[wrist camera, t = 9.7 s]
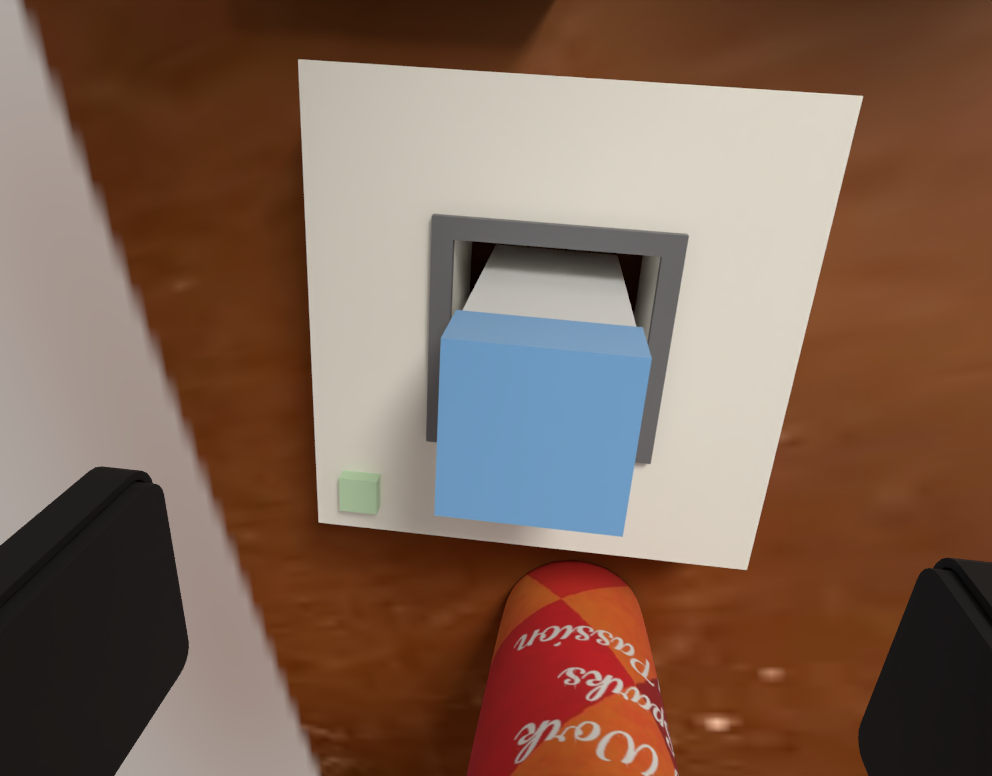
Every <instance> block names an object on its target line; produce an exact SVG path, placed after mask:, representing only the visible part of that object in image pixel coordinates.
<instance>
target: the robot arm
mask: <svg viewBox="0 0 992 776" xmlns="http://www.w3.org/2000/svg"><path fill="white" fill-rule="evenodd" d="M188 648H189V642H188V635H187V629H186V624H185V617H184V612H183V606H182V599H181V593H180V587H179V581H178V576H177V569H176V563H175V557H174V551H173V546H172V540H171V533H170V528H169V522H168V516H167V510H166V504H165V498H164V493H163V490H162V488H161V487H160V486H159V485H157V484H153V483H152V479H151V478H150V476H149V475H148V474H147V473H145V472H143V471H138V470H129V469H120V468H110V467H95V468H94V469H92V470H90V471H89V472H88V473H86V474H85V475H84V476H83V477H82V478H80V480H78V481H77V482H76V483H74V484H73V485H72V486H71V487H70V488H69V489H67V490H66V491H65V492H64V493H63V494H61V495H60V496H59V497H58V498H57V499H55V500H54V501H53V502H52V503H51V504H49V505H48V506H47V507H46V508H45V509H43V510H42V511H41V512H40V513H39V514H38V515H36V516H35V517H34V518H33V519H32V520H30V521H29V522H28V523H27V524H26V525H24V526H23V527H22V528H21V529H20V530H18V531H17V532H16V533H15V534H14V535H12V536H11V537H10V538H9V539H8V540H7V541H5V542H4V543H3V544H2V545H0V776H114V775H115V774H116V772H117V770H118V769H119V767H120V766H121V764H122V763H123V761H124V760H125V758H126V757H127V755H128V754H129V752H130V750H131V749H132V747H133V746H134V744H135V743H136V741H137V740H138V738H139V736H140V735H141V734H142V732H143V730H144V729H145V727H146V726H147V724H148V723H149V721H150V720H151V718H152V717H153V715H154V713H155V712H156V710H157V709H158V707H159V706H160V704H161V703H162V701H163V700H164V698H165V696H166V695H167V693H168V692H169V690H170V688H171V687H172V686H173V684H174V683H175V681H176V680H177V678H178V676H179V675H180V673H181V671H182V670H183V667H184V665H185V662H186V659H187V655H188ZM858 740H859V749H860V754H861V758H862V761H863V763H864V766H865V768H866V770H867V773H868V775H869V776H992V562H983V561H973V560H964V559H955V558H944V559H941V560H940V561H939V562H937V563H936V564H935V566H934V568H933V569H932V568H928V569H924V570H923V571H922V572H921V573H920V575H919V577H918V579H917V581H916V584H915V586H914V589H913V591H912V594H911V597H910V599H909V602H908V604H907V607H906V609H905V612H904V614H903V617H902V620H901V622H900V625H899V627H898V630H897V632H896V635H895V637H894V640H893V643H892V645H891V648H890V650H889V653H888V655H887V658H886V660H885V663H884V665H883V668H882V671H881V673H880V676H879V678H878V681H877V683H876V686H875V688H874V691H873V694H872V696H871V699H870V701H869V704H868V706H867V709H866V711H865V714H864V717H863V719H862V722H861V724H860V728H859V736H858Z"/></svg>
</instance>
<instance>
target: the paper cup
mask: <svg viewBox="0 0 992 776" xmlns="http://www.w3.org/2000/svg"><path fill="white" fill-rule="evenodd" d="M466 776H679V774H678V770H677V765H676V760H675V756H674V751H673V747H672V742H671V738H670V733H669V729H668V724H667V720H666V715H665V711H664V706H663V702H662V697H661V693H660V688H659V683H658V679H657V675H656V670H655V666H654V662H653V657H652V653H651V648H650V644H649V640H648V636H647V632H646V628H645V624H644V620H643V616H642V613H641V609H640V606H639V603H638V601H637V599H636V597H635V595H634V593H633V591H632V590H631V588H630V587H629V586H628V585H627V583H626V582H625V581H624V580H622V579H621V578H620V577H619V576H618V575H616V574H615V573H613V572H611V571H610V570H608V569H606V568H604V567H601V566H599V565H596V564H592V563H588V562H583V561H558V562H552V563H548V564H545V565H542V566H540V567H537V568H535V569H533V570H532V571H530V572H529V573H527V574H526V575H524V576H523V577H522V578H521V579H520V580H519V581H518V582H517V583H516V585H515V586H514V587H513V589H512V591H511V593H510V595H509V597H508V599H507V602H506V605H505V609H504V612H503V616H502V620H501V624H500V628H499V632H498V636H497V640H496V645H495V649H494V653H493V658H492V662H491V667H490V671H489V675H488V680H487V684H486V689H485V693H484V698H483V702H482V707H481V711H480V716H479V720H478V725H477V729H476V734H475V738H474V743H473V747H472V752H471V756H470V761H469V766H468V770H467V775H466Z"/></svg>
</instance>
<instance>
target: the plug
mask: <svg viewBox="0 0 992 776" xmlns="http://www.w3.org/2000/svg"><path fill="white" fill-rule="evenodd" d="M651 361H652V357H651V354H650V350H649V347H648V343H647V340H646V337H645V333H644V330H643V327H636V323H635V319H634V316H633V312H632V308H631V304H630V301H629V297H628V293H627V289H626V285H625V282H624V278H623V274H622V270H621V267H620V263H619V259H618V255H611V254H600V253H588V252H577V251H565V250H554V249H542V248H531V247H519V246H508V245H496V246H495V247H494V249H493V251H492V253H491V255H490V257H489V259H488V261H487V263H486V265H485V267H484V269H483V271H482V273H481V275H480V277H479V279H478V281H477V283H476V285H475V287H474V289H473V291H472V292H471V294H470V296H469V298H468V300H467V302H466V304H465V306H464V308H463V310H456V311H455V313H454V315H453V317H452V318H451V320H450V322H449V324H448V326H447V328H446V329H445V331H444V333H443V335H442V337H441V346H440V373H439V400H438V427H437V454H436V481H435V508H434V515H435V516H443V517H452V518H461V519H470V520H479V521H487V522H496V523H505V524H514V525H522V526H531V527H540V528H549V529H558V530H566V531H575V532H584V533H593V534H601V535H610V536H619V537H623V532H624V526H625V520H626V514H627V508H628V502H629V496H630V490H631V483H632V477H633V471H634V465H635V459H636V453H637V447H638V440H639V434H640V428H641V422H642V416H643V410H644V404H645V398H646V391H647V385H648V379H649V373H650V367H651Z"/></svg>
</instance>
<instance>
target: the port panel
mask: <svg viewBox="0 0 992 776" xmlns="http://www.w3.org/2000/svg"><path fill="white" fill-rule="evenodd" d="M298 71H299V93H300V116H301V138H302V161H303V183H304V206H305V228H306V251H307V273H308V296H309V318H310V341H311V363H312V386H313V408H314V431H315V453H316V476H317V498H318V521H319V523H328V524H337V525H346V526H355V527H364V528H373V529H382V530H391V531H400V532H409V533H418V534H427V535H436V536H445V537H454V538H463V539H472V540H481V541H490V542H499V543H508V544H517V545H526V546H535V547H544V548H553V549H562V550H571V551H580V552H589V553H598V554H607V555H616V556H625V557H634V558H643V559H652V560H661V561H670V562H679V563H688V564H697V565H706V566H715V567H724V568H733V569H742V570H747V567H748V563H749V559H750V555H751V551H752V547H753V543H754V539H755V535H756V531H757V527H758V523H759V519H760V514H761V510H762V506H763V502H764V498H765V494H766V490H767V486H768V482H769V478H770V474H771V470H772V466H773V461H774V457H775V453H776V449H777V445H778V441H779V437H780V433H781V429H782V425H783V421H784V417H785V413H786V408H787V404H788V400H789V396H790V392H791V388H792V384H793V380H794V376H795V372H796V368H797V364H798V360H799V355H800V351H801V347H802V343H803V339H804V335H805V331H806V327H807V323H808V319H809V315H810V311H811V307H812V303H813V298H814V294H815V290H816V286H817V282H818V278H819V274H820V270H821V266H822V262H823V258H824V254H825V250H826V245H827V241H828V237H829V233H830V229H831V225H832V221H833V217H834V213H835V209H836V205H837V201H838V197H839V192H840V188H841V184H842V180H843V176H844V172H845V168H846V164H847V160H848V156H849V152H850V148H851V144H852V139H853V135H854V131H855V127H856V123H857V119H858V115H859V111H860V107H861V103H862V99H863V96H855V95H840V94H824V93H809V92H793V91H778V90H763V89H747V88H732V87H717V86H701V85H686V84H671V83H655V82H640V81H625V80H609V79H594V78H579V77H563V76H548V75H532V74H517V73H502V72H486V71H471V70H456V69H440V68H425V67H410V66H394V65H379V64H364V63H348V62H333V61H318V60H302V59H298ZM472 241H475V242H487V243H499V244H512V245H524V246H536V247H548V248H561V249H573V250H585V251H597V252H609V253H622V254H634V255H643V257H642V264H641V271H640V278H639V285H638V292H637V299H636V306H635V313H634V319H635V323H636V327H643V330H644V333H645V337H646V340H647V343H648V347H649V350H650V354H651V357H652V361H651V367H650V373H649V379H648V385H647V391H646V398H645V404H644V410H643V416H642V422H641V428H640V434H639V440H638V447H637V453H636V459H635V465H634V471H633V477H632V483H631V490H630V496H629V502H628V508H627V514H626V520H625V526H624V532H623V537H619V536H610V535H601V534H593V533H584V532H575V531H566V530H558V529H549V528H540V527H531V526H522V525H514V524H505V523H496V522H487V521H479V520H470V519H461V518H452V517H443V516H435V515H434V508H435V481H436V454H437V427H438V400H439V373H440V346H441V337H442V335H443V333H444V331H445V329H446V328H447V326H448V324H449V322H450V320H451V318H452V317H453V315H454V313H455V311H456V310H463V308H464V306H465V304H466V302H467V300H468V298H469V296H470V279H471V258H472Z"/></svg>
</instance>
